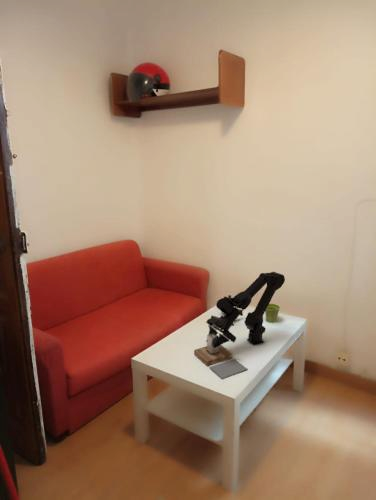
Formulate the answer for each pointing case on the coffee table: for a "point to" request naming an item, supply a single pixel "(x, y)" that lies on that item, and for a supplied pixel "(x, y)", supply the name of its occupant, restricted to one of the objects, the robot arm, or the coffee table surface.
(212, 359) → the brown wooden frame
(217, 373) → the grey mat
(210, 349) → the steel key bar
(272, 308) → the plant pot
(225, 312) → the robot arm
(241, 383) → the coffee table surface
